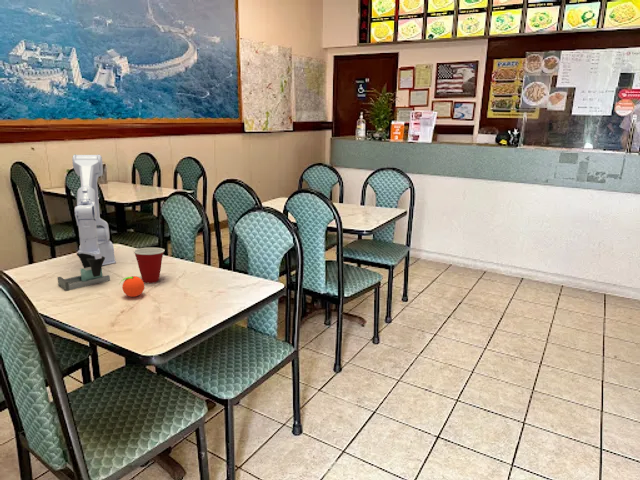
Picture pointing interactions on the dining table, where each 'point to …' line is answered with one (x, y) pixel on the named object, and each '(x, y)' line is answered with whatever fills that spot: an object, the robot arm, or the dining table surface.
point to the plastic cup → (149, 263)
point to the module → (88, 274)
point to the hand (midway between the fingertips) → (92, 273)
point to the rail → (67, 286)
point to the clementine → (133, 286)
